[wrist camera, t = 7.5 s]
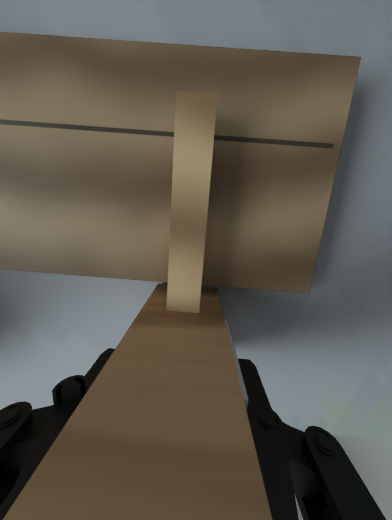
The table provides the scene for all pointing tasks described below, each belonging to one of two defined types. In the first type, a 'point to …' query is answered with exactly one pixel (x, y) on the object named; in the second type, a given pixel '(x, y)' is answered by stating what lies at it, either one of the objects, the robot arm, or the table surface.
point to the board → (166, 157)
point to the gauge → (162, 389)
